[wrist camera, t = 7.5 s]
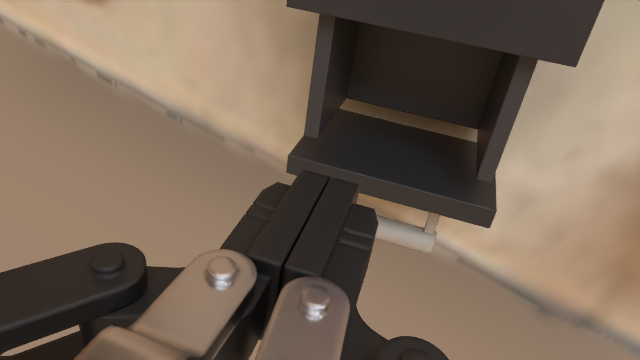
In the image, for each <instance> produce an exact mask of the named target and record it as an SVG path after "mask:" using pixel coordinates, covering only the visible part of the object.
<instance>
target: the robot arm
mask: <svg viewBox="0 0 640 360" xmlns="http://www.w3.org/2000/svg"><path fill="white" fill-rule="evenodd" d="M359 187H360V184H356V183H353V182H349V181H345V180H342V179H338V178H334V177H331V179H330V176H327V175H323V174H319V173H316V172H312V171H308V170H305V169H302V170H301V171H300V173H299V174H298V176H297V177H296V179H295V180H294V182H293V183H292V185H291V186H289V185H286V184H282V183H279V182H277V183H275V184H273V185H271V186H270V187H268V188H266V189H264V190H262V192H261V193H260V194H259V196H258V197H257V198H256V200H255V201H254V202H253V205H251V207H250V208H249V209H248V211H247V212H246V215H244V216H243V217H242V219H241V220H240V221H239V223H238V224H237V226H236V227H235V228H234V230H233V231H232V232H231V234H230V235H229V236H228V238H227V239H226V241H225V242H224V243H223V245H222V246H221V248H220V249H219V250H212V251H208V252H205V253H203V254H201V255H199V256H197V257H196V258H194V259H193V261H191V262H190V263H189V264H188V266H187V267H182V268H169V267H150V266H149V267H148V266H146V258H145V256H144V254H143V253H142V252H141V251H140V250H139V249H138V248H136V247H134V246H132V245H129V244H125V243H104V244H100V245H96V246H93V247H89V248H85V249H82V250H79V251H75V252H71V253H68V254H65V255H61V256H57V257H54V258H51V259H47V260H43V261H40V262H36V263H33V264H30V265H26V266H22V267H19V268H15V269H12V270H9V271H5V272H1V273H0V355H1V354H2V353H4V352H6V351H8V350H10V349H13V348H16V347H18V346H21V345H24V344H27V343H29V342H32V341H35V340H38V339H41V338H43V337H46V336H49V335H52V334H54V333H57V332H60V331H62V330H65V329H68V328H71V327H73V326H76V325H79V328H80V331H78V332H75V333H72V334H70V335H67V336H64V337H62V338H59V339H56V340H53V341H51V342H48V343H45V344H43V345H40V346H37V347H35V348H32V349H29V350H26V351H24V352H21V353H18V354H15V355H12V356H0V360H249V357H250V356H251V354H252V352H253V350H254V348H255V346H256V344H257V342H258V340H262V341H261V344H260V346H259V349H258V352H257V354H256V357H255V359H254V360H449V359H448V358H447V357H446V356H445V354H444V353H443V352H442V351H441V350H440V349H438V348H437V347H436V346H434V345H433V344H431V343H429V342H428V341H425V340H423V339H420V338H417V337H411V336H401V337H396V338H393V339H391V340H389V341H388V340H387V339H385V338H384V337H382V336H381V335H379V334H378V333H376V332H375V331H373V330H372V329H371V328H370V327H369V326H368V325H367V324H366V323H365V322H364V321H363V320H362V318H361V317H360V315H359V313H358V310H357V307H356V303H357V300H358V296H359V293H360V290H361V287H362V283H363V280H364V277H365V274H366V271H367V267H368V263H369V259H370V255H371V251H372V247H373V243H374V239H375V236H376V232H377V228H378V224H379V223H378V220H377V216H376V213H375V210H374V209H372V208H369V207H365V206H362V205H358V204H356V202H357V198H358V193H359Z"/></svg>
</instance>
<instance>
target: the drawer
mask: <svg viewBox="0 0 640 360" xmlns="http://www.w3.org/2000/svg"><path fill="white" fill-rule="evenodd" d="M537 61H538V59H533V58H529V57H524V56H519V55H514V54H510V53H505V52H500V51H495V50H491V49H486V48H481V47H476V46H472V45H467V44H462V43H457V42H453V41H448V40H443V39H438V38H433V37H429V36H424V35H419V34H414V33H410V32H405V31H400V30H395V29H391V28H386V27H381V26H376V25H372V24H367V23H362V22H357V21H353V20H348V19H343V18H338V17H334V16H329V15H324V14H320V15H319V23H318V31H317V38H316V46H315V54H314V62H313V70H312V77H311V85H310V93H309V101H308V108H307V116H306V124H305V132H304V136H303V137H302V138H301V140H300V141H299V142H298V143H297V145H296V146H295V147H294V149H293V150H292V151H291V152H290V154H289V155H288V163H287V173H289V174H293V175H297V176H298V174H299V173H300V171H301V170H302V169H305V170H308V171H312V172H316V173H319V174H323V175H327V176H330V179H331V177H334V178H338V179H342V180H345V181H349V182H353V183H356V184H360V187H359V193H362V194H366V195H369V196H373V197H377V198H380V199H384V200H388V201H391V202H395V203H399V204H402V205H406V206H409V207H413V208H417V209H420V210H424V211H428V212H429V215H428V218H427V222H426V225H425V228H422V227H418V226H415V225H411V224H408V223H404V222H401V221H397V220H393V219H390V218H386V217H383V216H379V215H376V216H377V220H378V223H379V224H378V228H377V232H376V236H375V239H378V240H381V241H385V242H388V243H391V244H395V245H398V246H402V247H405V248H409V249H412V250H416V251H419V252H423V253H426V254H429V255H430V254H431V253H432V250H433V247H434V244H435V240H436V235H437V232H436V231H435V228H436V225H437V222H438V219H439V216H440V215H442V216H446V217H449V218H453V219H457V220H460V221H464V222H468V223H471V224H475V225H479V226H482V227H486V228H490V226H491V224H492V221H493V219H494V216H495V214H496V211H497V210H496V178H495V172H496V169H497V166H498V164H499V161H500V159H501V156H502V153H503V151H504V148H505V145H506V143H507V140H508V137H509V135H510V132H511V130H512V127H513V124H514V122H515V119H516V116H517V114H518V111H519V108H520V106H521V103H522V101H523V98H524V95H525V93H526V90H527V87H528V85H529V82H530V79H531V77H532V74H533V72H534V69H535V66H536V64H537ZM346 98H349V99H353V100H358V101H362V102H366V103H370V104H374V105H378V106H383V107H387V108H391V109H395V110H399V111H403V112H408V113H412V114H416V115H420V116H424V117H428V118H433V119H437V120H441V121H445V122H449V123H453V124H458V125H462V126H466V127H470V128H474V129H478V137H477V143H476V142H472V141H468V140H464V139H460V138H456V137H452V136H448V135H444V134H440V133H435V132H431V131H427V130H423V129H419V128H415V127H411V126H407V125H403V124H399V123H395V122H391V121H386V120H382V119H378V118H374V117H370V116H366V115H362V114H358V113H354V112H350V111H346V110H342V109H339V108H340V107H341V105H342V104H343V102H344V101H345V100H346Z"/></svg>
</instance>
